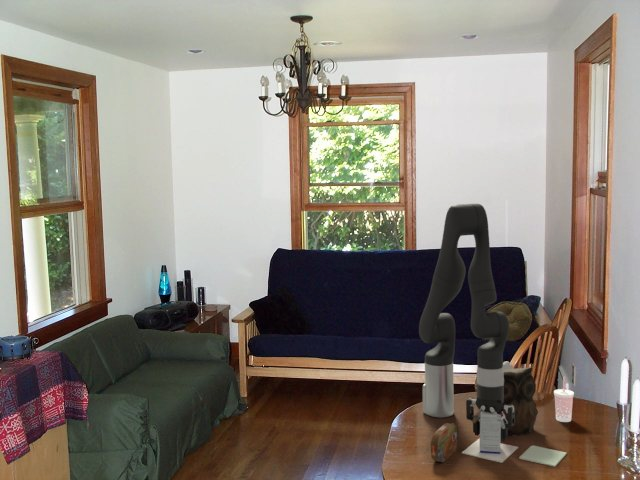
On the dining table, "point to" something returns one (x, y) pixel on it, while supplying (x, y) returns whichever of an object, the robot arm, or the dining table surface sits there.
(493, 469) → the dining table surface
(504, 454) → the tile
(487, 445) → the supplement box
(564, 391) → the beverage cup
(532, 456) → the sage mat
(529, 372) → the owl
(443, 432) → the tin
